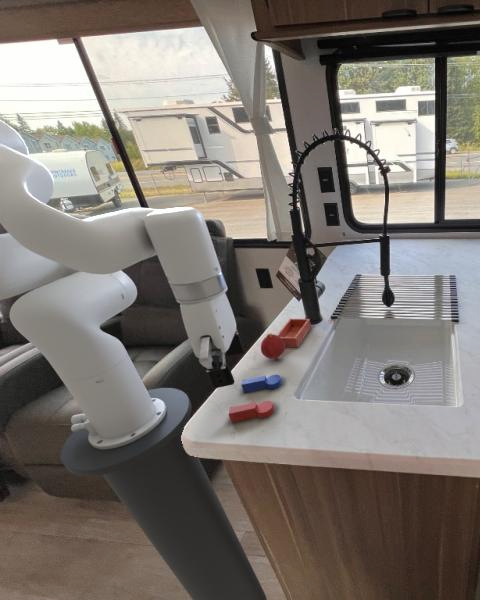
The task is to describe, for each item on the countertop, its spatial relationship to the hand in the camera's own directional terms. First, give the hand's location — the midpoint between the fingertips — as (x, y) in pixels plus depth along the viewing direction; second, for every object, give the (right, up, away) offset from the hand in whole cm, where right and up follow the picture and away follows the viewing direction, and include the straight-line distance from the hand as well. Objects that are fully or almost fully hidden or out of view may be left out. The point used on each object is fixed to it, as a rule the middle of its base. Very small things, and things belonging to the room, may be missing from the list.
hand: (230, 368), depth 59 cm
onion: (-1, -3, +23) cm, 23 cm away
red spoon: (+2, -11, +6) cm, 13 cm away
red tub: (+1, +2, +32) cm, 32 cm away
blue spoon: (0, -7, +14) cm, 15 cm away
